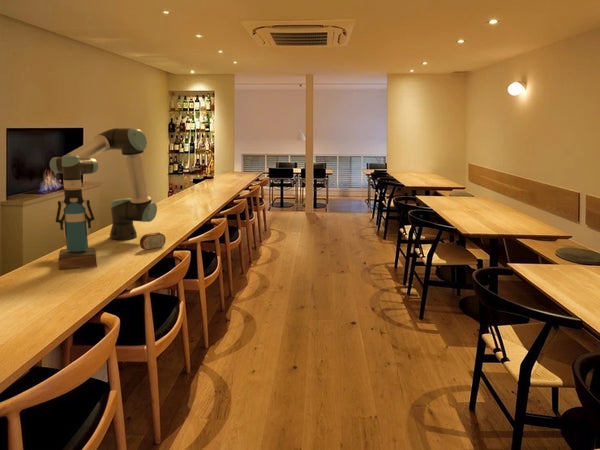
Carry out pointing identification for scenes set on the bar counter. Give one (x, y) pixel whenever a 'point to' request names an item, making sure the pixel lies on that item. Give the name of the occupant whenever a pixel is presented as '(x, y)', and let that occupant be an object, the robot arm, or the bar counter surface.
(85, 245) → the water bottle
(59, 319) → the bar counter surface
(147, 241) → the tin
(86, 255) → the stand
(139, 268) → the bar counter surface
